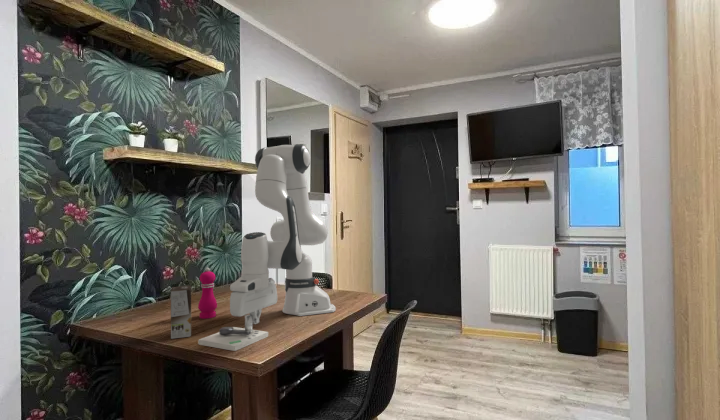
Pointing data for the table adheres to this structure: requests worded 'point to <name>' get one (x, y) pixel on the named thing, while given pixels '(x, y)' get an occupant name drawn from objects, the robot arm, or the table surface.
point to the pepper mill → (207, 295)
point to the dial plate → (232, 339)
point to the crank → (242, 332)
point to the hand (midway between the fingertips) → (255, 323)
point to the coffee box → (180, 312)
